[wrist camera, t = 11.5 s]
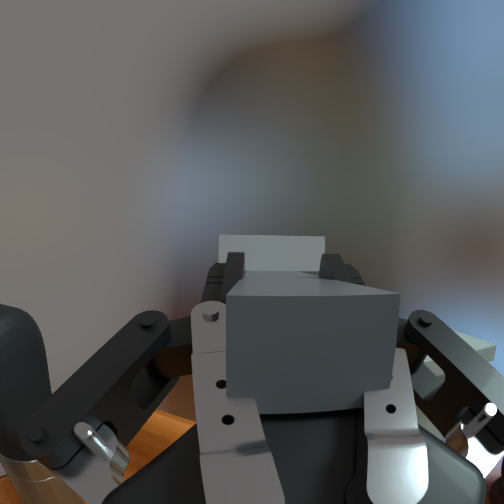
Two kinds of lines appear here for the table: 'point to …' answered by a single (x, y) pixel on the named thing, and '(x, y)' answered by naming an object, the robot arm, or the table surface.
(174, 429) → the table surface
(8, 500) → the table surface
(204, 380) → the robot arm
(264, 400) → the block
